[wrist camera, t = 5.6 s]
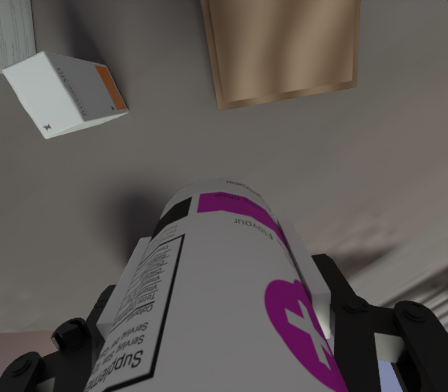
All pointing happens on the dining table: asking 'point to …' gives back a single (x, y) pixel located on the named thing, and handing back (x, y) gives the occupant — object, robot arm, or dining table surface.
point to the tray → (280, 48)
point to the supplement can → (216, 306)
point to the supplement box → (15, 32)
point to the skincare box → (64, 92)
